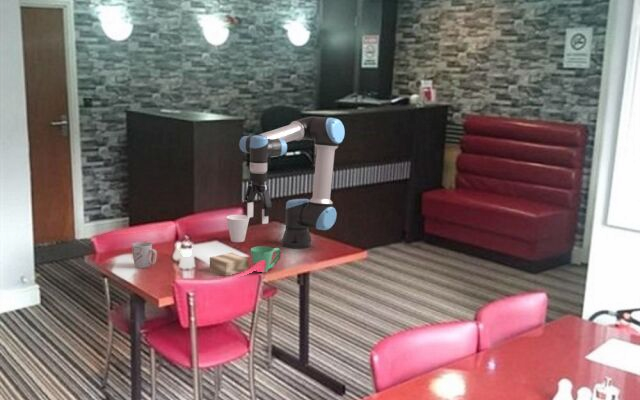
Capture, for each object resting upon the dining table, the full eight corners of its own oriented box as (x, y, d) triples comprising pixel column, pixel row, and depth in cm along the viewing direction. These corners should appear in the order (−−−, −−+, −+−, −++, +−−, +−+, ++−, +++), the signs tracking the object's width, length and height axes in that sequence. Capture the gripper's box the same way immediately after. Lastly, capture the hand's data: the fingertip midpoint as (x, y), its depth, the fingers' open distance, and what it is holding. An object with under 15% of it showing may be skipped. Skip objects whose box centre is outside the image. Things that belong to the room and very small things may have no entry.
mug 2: (258, 276, 292) (259, 253, 290) (245, 270, 300) (246, 248, 298) (286, 270, 302) (286, 248, 300) (273, 265, 309) (273, 243, 307)
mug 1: (161, 265, 303) (161, 243, 301) (151, 270, 295) (151, 248, 293) (139, 262, 306) (139, 240, 304) (128, 267, 298) (128, 245, 296)
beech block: (231, 265, 307) (231, 252, 306) (248, 271, 299) (248, 258, 298) (209, 270, 299) (209, 257, 298) (226, 277, 291) (226, 263, 290)
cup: (247, 244, 343) (248, 220, 341) (224, 243, 344) (224, 219, 341) (250, 238, 355) (251, 215, 353) (227, 237, 355) (228, 214, 353)
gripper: (237, 168, 302) (236, 215, 306) (264, 176, 282) (263, 227, 286) (252, 167, 306) (251, 213, 310) (280, 175, 286) (279, 225, 290)
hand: (257, 220), depth 298 cm, fingers open, 13 cm apart
